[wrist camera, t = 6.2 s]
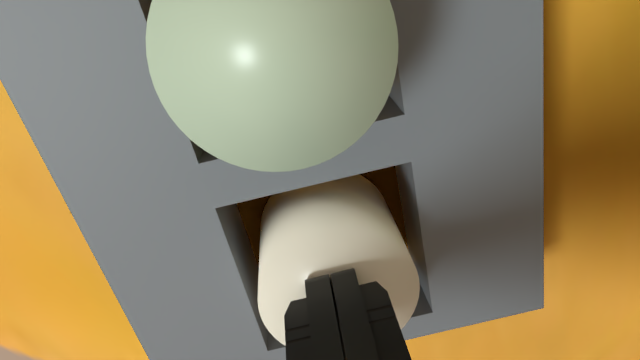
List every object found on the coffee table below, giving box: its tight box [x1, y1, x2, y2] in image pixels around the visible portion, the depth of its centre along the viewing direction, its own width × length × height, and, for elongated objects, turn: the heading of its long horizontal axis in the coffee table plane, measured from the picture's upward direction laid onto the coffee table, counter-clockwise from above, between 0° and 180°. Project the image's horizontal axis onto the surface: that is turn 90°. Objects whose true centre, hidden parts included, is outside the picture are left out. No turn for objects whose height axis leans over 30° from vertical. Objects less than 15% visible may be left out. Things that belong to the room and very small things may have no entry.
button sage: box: [146, 0, 398, 172], centre depth 11 cm, size 5×5×4 cm
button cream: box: [258, 174, 420, 345], centre depth 16 cm, size 5×5×4 cm
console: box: [0, 0, 544, 360], centre depth 13 cm, size 14×23×3 cm, turn 12°
